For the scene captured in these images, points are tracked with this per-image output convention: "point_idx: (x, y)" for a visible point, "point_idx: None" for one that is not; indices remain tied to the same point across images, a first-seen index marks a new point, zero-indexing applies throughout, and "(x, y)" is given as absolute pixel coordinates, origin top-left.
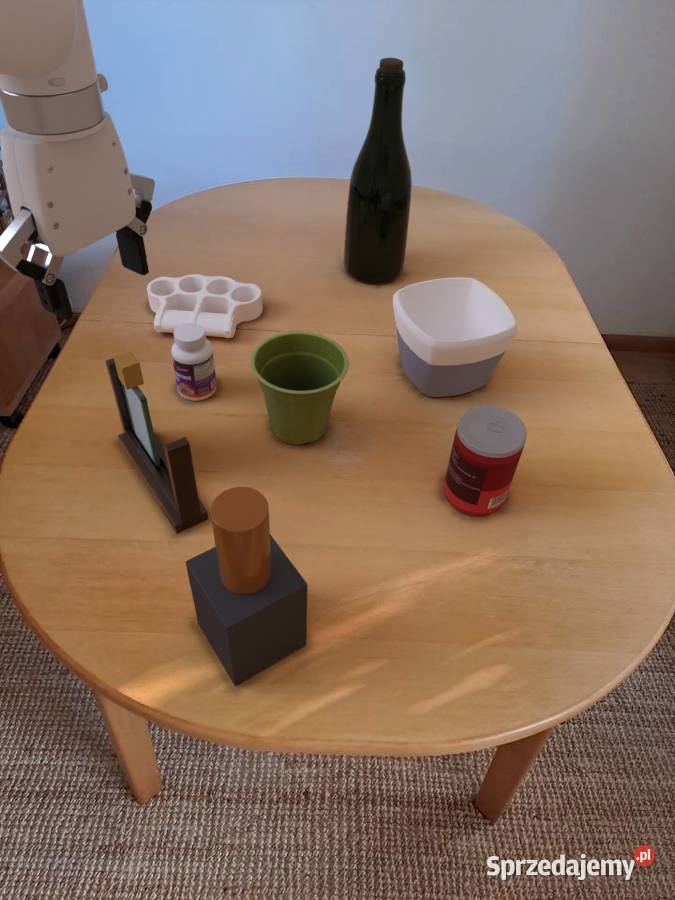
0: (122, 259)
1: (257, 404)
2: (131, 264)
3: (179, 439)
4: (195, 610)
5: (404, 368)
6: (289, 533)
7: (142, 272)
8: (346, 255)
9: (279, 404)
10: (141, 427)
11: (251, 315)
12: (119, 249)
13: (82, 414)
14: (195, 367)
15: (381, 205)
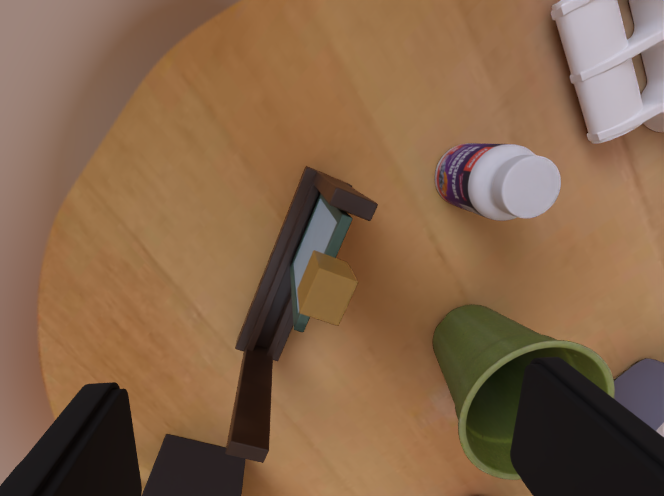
0: (550, 388)
1: (476, 267)
2: (537, 434)
3: (257, 449)
4: (157, 456)
5: (622, 383)
6: (317, 427)
7: (517, 473)
8: None
9: (454, 393)
10: (307, 250)
11: (658, 128)
12: (589, 422)
13: (317, 60)
14: (473, 210)
15: None
